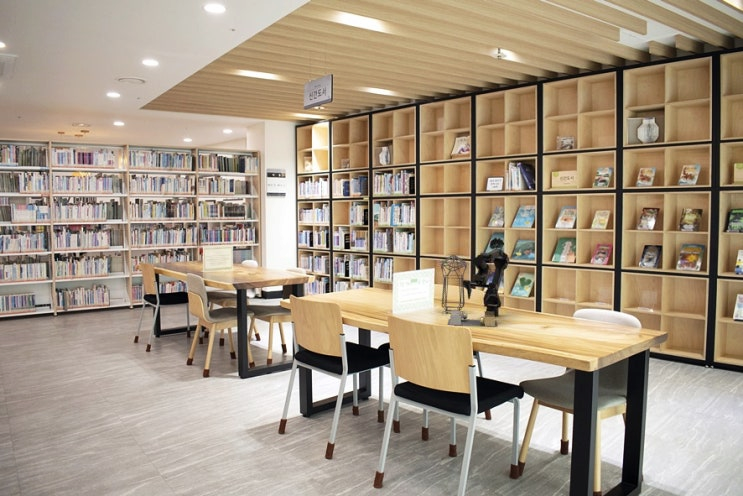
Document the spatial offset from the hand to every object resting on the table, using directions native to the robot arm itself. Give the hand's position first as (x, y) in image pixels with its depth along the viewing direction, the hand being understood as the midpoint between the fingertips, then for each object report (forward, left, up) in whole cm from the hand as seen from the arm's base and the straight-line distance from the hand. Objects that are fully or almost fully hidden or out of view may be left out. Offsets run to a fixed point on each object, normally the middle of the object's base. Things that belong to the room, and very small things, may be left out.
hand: (476, 300), depth 312 cm
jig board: (+2, -1, -13) cm, 14 cm away
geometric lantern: (-9, -35, -14) cm, 39 cm away
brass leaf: (-4, +3, -12) cm, 13 cm away
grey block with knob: (+8, -6, -12) cm, 16 cm away
